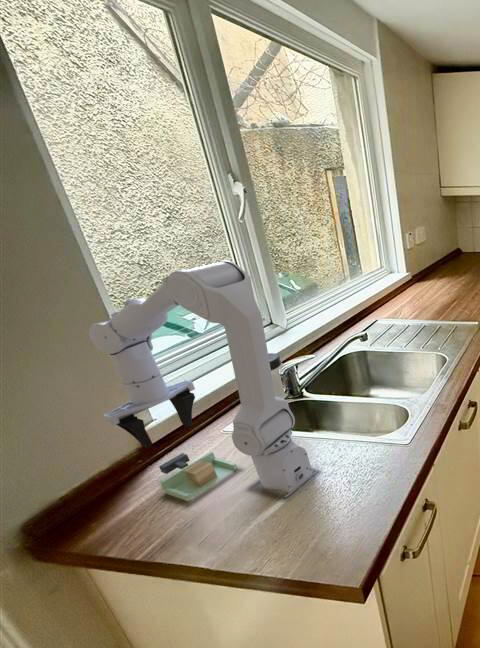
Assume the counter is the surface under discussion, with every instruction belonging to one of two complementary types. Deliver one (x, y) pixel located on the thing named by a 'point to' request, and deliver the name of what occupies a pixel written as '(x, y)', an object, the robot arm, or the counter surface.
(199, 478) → the block
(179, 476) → the tray
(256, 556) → the counter surface
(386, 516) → the counter surface
